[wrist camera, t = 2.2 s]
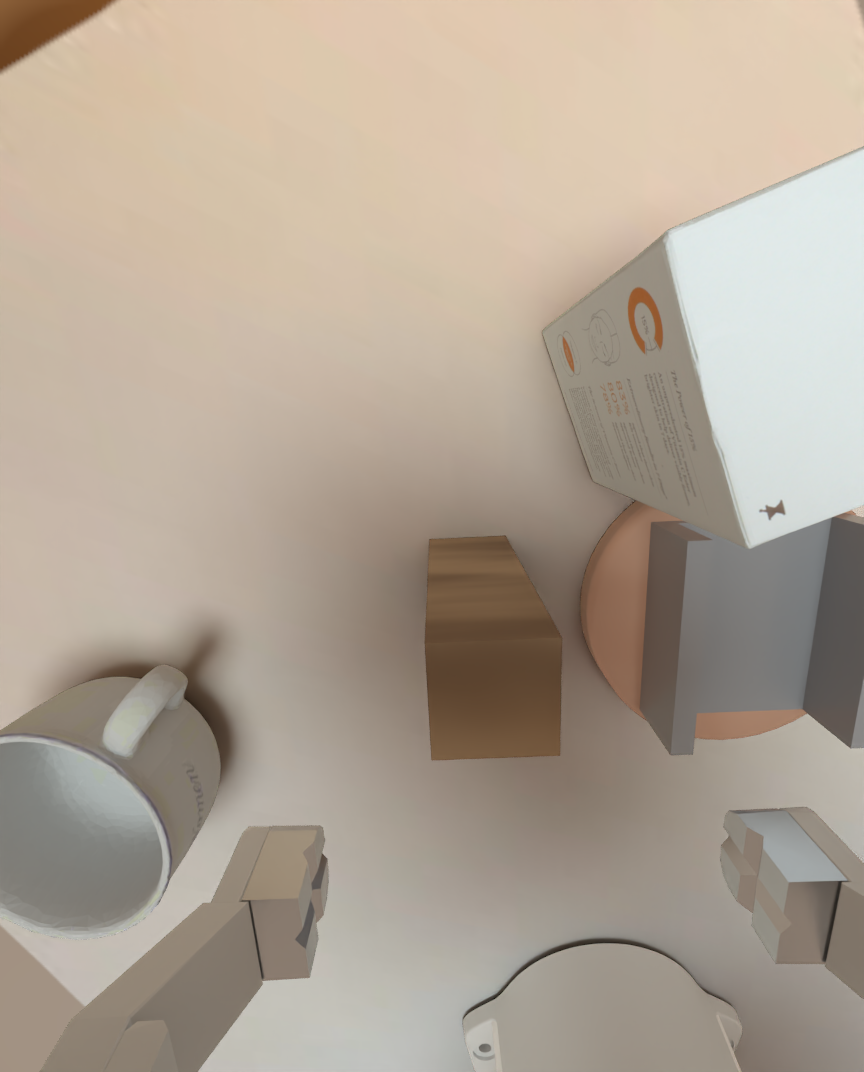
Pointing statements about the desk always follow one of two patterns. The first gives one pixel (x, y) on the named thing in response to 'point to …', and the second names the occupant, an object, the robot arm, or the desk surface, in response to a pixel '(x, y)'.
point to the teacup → (101, 803)
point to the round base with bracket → (729, 627)
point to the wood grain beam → (489, 655)
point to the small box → (731, 362)
